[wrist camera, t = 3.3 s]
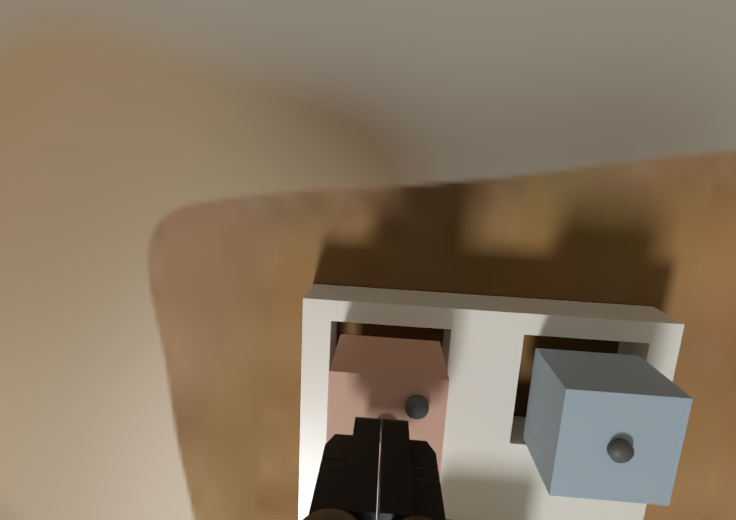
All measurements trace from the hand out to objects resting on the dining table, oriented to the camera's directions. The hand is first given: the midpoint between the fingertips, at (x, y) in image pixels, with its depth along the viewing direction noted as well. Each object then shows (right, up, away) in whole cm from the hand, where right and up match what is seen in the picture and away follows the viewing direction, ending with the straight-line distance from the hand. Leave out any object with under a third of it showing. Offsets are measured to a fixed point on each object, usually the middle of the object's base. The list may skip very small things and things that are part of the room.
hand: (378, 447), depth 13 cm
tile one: (+7, 0, +4) cm, 8 cm away
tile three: (0, +1, +4) cm, 4 cm away
